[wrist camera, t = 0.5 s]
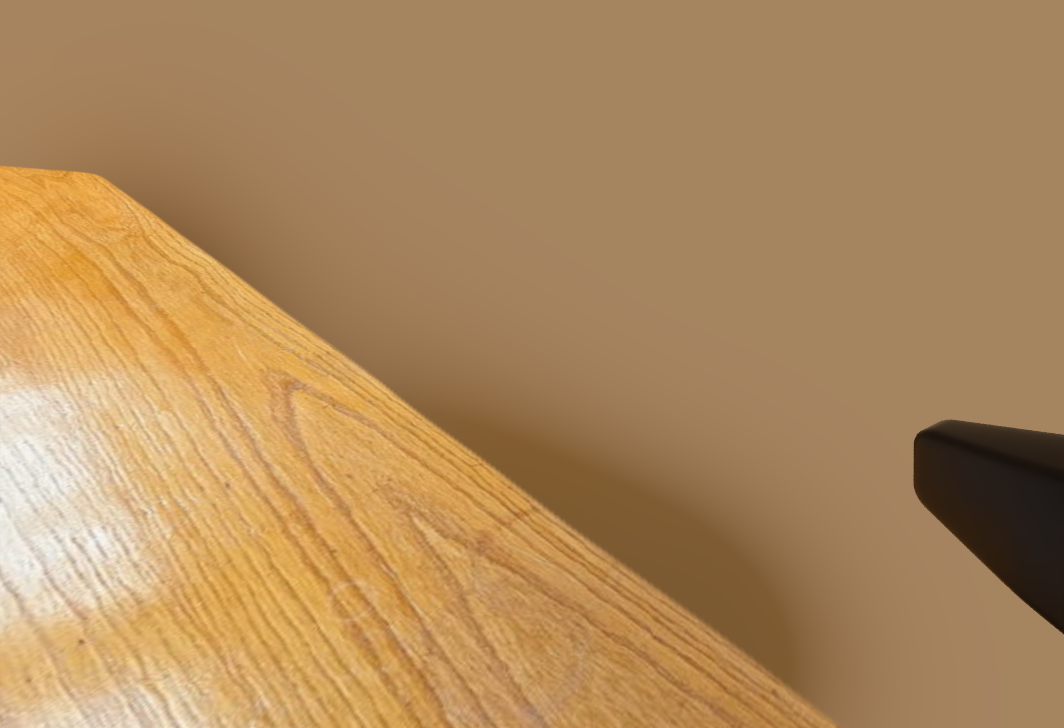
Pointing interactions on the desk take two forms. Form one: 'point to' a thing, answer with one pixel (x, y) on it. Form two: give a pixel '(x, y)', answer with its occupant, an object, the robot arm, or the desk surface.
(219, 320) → the desk surface
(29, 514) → the desk surface
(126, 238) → the desk surface
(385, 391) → the desk surface
